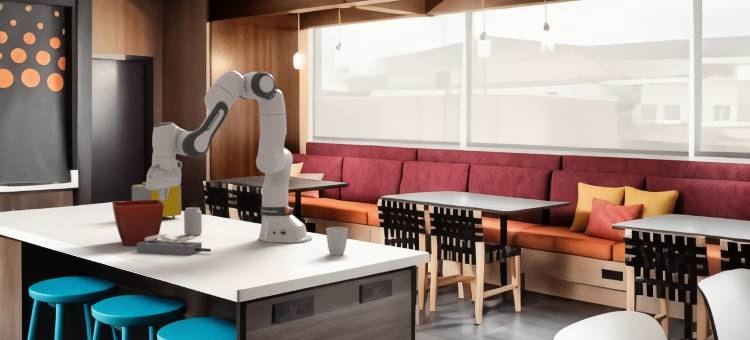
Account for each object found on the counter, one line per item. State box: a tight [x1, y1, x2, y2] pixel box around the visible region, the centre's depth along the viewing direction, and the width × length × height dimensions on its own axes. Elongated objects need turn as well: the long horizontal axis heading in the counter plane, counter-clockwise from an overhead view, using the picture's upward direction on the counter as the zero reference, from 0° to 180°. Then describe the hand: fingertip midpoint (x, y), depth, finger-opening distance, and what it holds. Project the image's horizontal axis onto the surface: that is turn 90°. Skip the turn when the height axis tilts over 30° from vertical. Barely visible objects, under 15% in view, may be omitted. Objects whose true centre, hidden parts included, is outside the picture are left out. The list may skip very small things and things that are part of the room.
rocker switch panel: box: [136, 239, 212, 256], centre depth 332 cm, size 29×9×4 cm, turn 73°
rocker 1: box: [145, 233, 162, 242], centre depth 335 cm, size 6×3×2 cm, turn 73°
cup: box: [325, 226, 349, 256], centre depth 328 cm, size 8×8×10 cm
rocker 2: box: [159, 233, 179, 243], centre depth 333 cm, size 6×3×2 cm, turn 74°
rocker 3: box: [177, 236, 195, 243], centre depth 331 cm, size 6×3×2 cm, turn 73°
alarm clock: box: [131, 181, 182, 219], centre depth 427 cm, size 20×16×18 cm
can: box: [183, 206, 203, 237], centre depth 375 cm, size 8×8×12 cm
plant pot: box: [112, 200, 164, 246], centre depth 353 cm, size 19×19×17 cm
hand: (163, 199), depth 332 cm, fingers closed
